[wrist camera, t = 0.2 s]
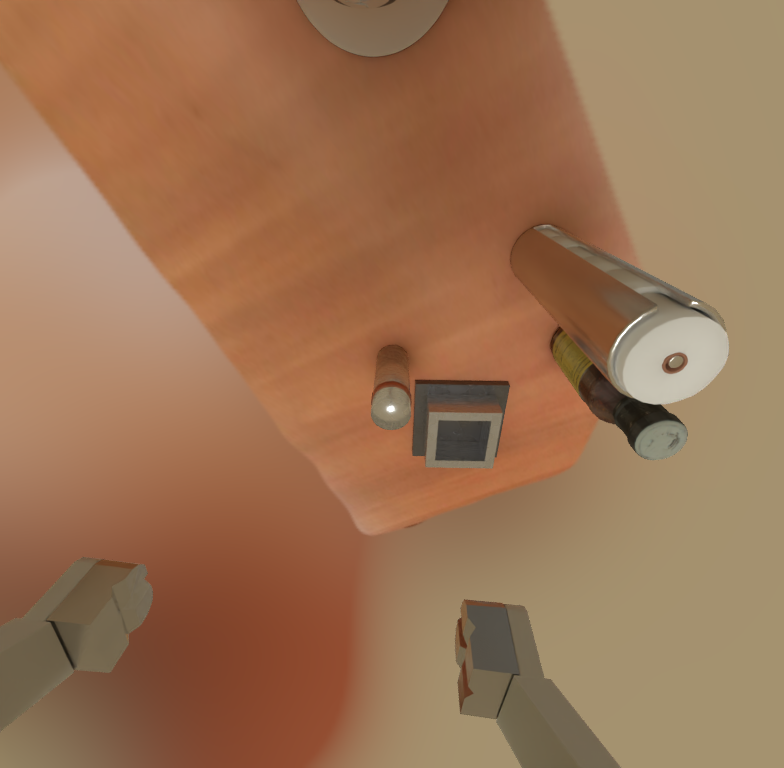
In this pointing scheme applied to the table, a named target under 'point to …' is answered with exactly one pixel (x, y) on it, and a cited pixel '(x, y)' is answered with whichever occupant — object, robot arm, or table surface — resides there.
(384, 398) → the cylinder
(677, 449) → the sauce bottle
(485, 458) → the collar
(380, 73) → the table surface
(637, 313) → the silver piece
